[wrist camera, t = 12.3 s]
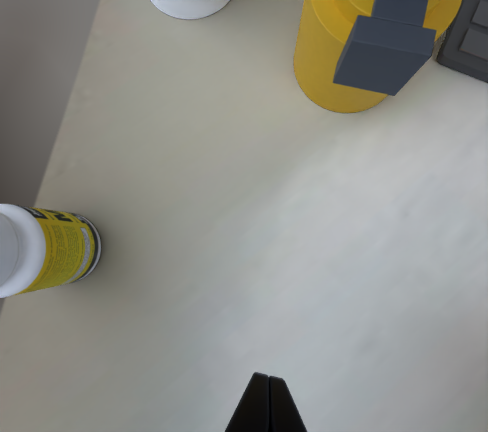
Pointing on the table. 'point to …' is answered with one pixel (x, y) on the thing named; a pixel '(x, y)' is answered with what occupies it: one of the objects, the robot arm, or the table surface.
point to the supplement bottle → (44, 248)
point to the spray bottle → (333, 41)
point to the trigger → (386, 47)
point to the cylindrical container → (189, 7)
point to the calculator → (468, 40)
